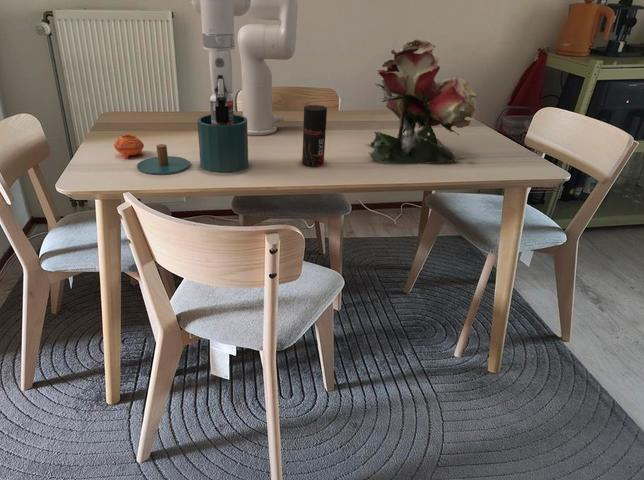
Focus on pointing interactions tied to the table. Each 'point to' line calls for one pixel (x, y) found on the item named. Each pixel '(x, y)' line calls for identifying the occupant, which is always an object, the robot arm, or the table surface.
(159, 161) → the lid
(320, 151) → the deodorant
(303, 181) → the table surface
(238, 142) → the tin
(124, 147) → the pot
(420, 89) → the rose bouquet
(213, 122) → the pill bottle
